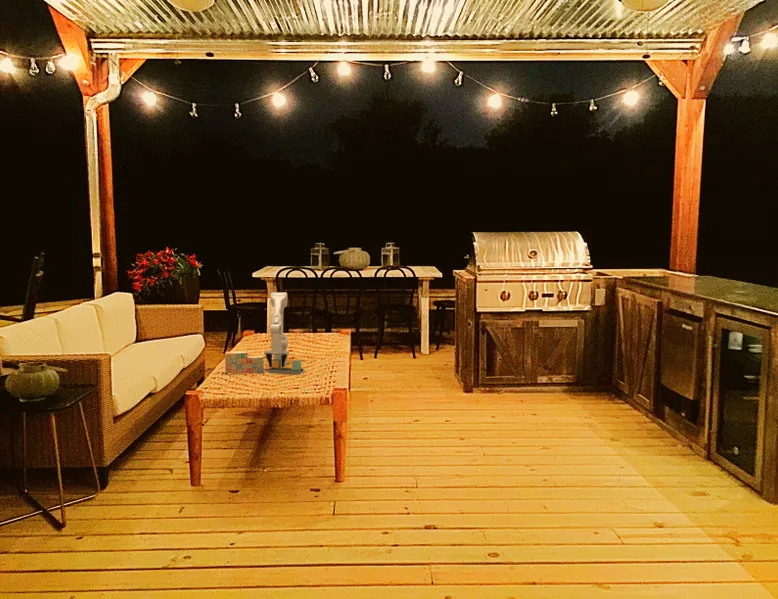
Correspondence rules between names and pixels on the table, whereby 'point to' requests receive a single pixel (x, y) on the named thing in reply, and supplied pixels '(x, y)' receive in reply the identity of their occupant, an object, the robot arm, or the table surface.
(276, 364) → the toy block
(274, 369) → the rail
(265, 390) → the table surface
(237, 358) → the stack of blocks
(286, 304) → the robot arm
